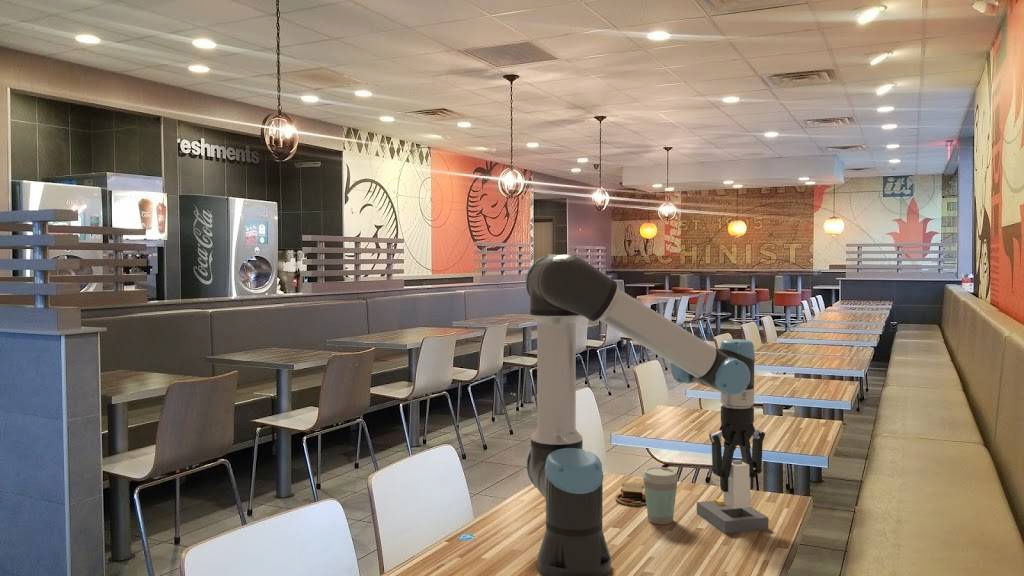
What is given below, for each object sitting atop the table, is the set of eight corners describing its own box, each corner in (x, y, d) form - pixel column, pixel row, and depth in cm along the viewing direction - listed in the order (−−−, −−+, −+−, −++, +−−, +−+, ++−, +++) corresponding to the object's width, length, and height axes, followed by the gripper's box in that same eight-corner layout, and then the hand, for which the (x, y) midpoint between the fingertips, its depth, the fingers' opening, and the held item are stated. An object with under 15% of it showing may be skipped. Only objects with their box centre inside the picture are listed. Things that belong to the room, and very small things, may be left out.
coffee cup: (678, 527, 174) (679, 477, 173) (641, 525, 176) (641, 475, 175) (678, 515, 182) (678, 467, 182) (642, 513, 184) (642, 465, 183)
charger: (733, 508, 172) (733, 463, 172) (725, 503, 176) (725, 459, 176) (749, 507, 173) (749, 462, 173) (740, 501, 177) (740, 457, 177)
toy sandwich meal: (612, 505, 191) (612, 491, 191) (619, 493, 200) (619, 480, 200) (649, 509, 188) (649, 495, 188) (654, 497, 198) (654, 483, 197)
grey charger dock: (725, 534, 169) (725, 518, 169) (696, 514, 183) (696, 498, 183) (768, 530, 172) (768, 514, 172) (737, 510, 186) (737, 495, 185)
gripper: (711, 410, 168) (711, 512, 169) (779, 406, 172) (778, 506, 173) (696, 404, 176) (696, 501, 177) (761, 400, 180) (760, 496, 180)
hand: (736, 503), depth 175 cm, fingers closed on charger, 4 cm apart
